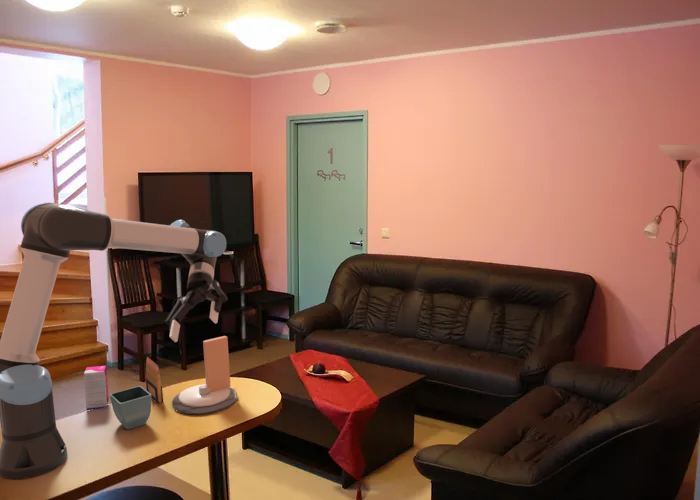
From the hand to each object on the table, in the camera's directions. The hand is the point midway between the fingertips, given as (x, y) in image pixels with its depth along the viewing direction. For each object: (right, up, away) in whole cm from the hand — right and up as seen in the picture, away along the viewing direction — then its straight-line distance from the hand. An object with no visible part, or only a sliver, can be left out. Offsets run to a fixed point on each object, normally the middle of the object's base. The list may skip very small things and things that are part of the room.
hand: (193, 329), depth 168 cm
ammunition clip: (-16, -23, +17) cm, 33 cm away
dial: (0, -22, +13) cm, 26 cm away
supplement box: (-32, -25, +12) cm, 42 cm away
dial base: (0, -23, +13) cm, 27 cm away
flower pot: (-16, -26, -1) cm, 31 cm away
